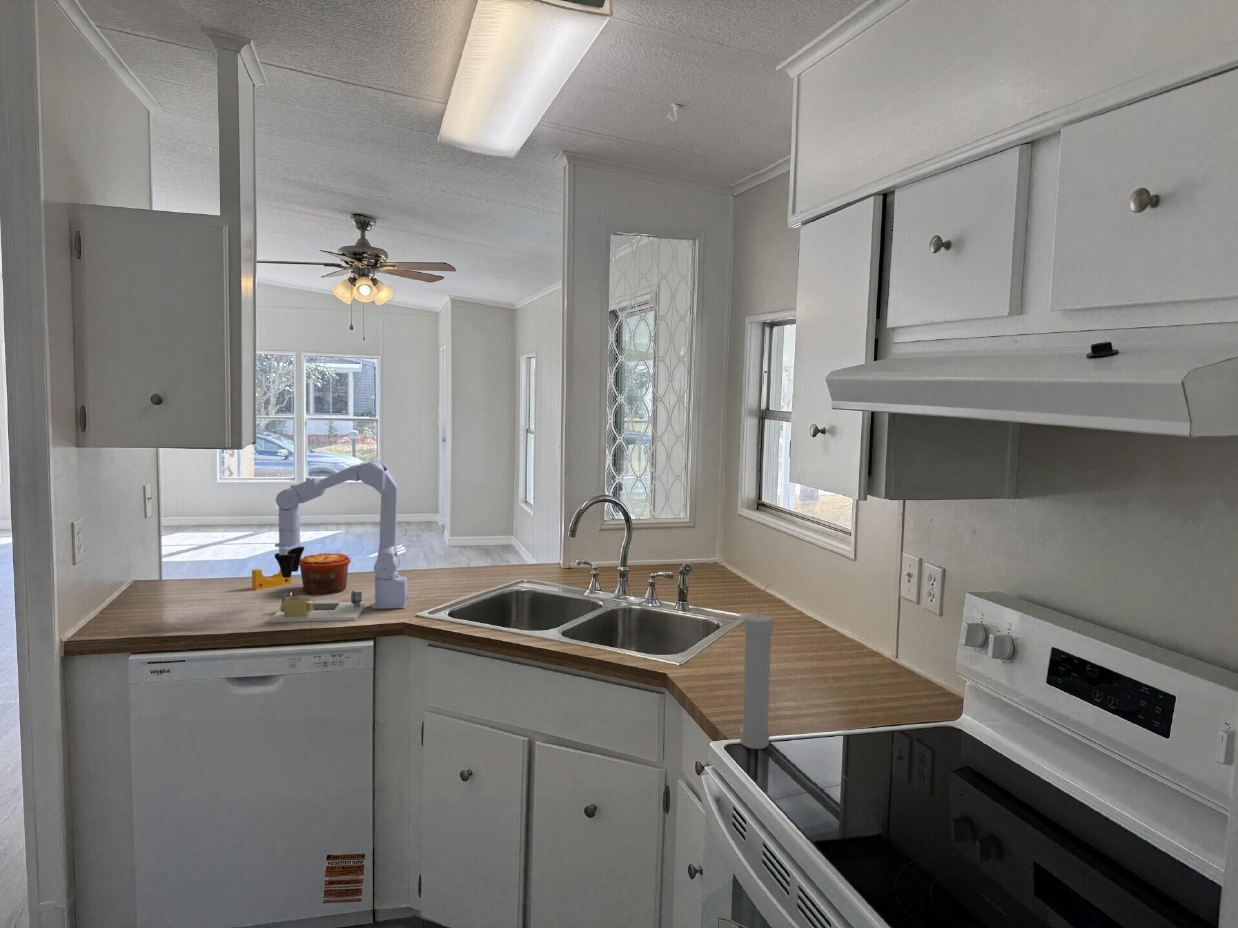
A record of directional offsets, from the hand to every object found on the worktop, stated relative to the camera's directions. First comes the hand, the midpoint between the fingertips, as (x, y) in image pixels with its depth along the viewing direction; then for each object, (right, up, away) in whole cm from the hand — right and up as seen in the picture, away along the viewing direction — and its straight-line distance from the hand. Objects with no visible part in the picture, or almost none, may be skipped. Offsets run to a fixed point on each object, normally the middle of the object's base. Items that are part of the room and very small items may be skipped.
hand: (290, 574), depth 234 cm
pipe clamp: (-18, -8, +27) cm, 33 cm away
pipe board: (+11, -11, -5) cm, 16 cm away
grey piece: (+124, -20, -86) cm, 152 cm away
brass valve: (+6, -10, -10) cm, 16 cm away
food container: (+2, -8, +22) cm, 24 cm away
